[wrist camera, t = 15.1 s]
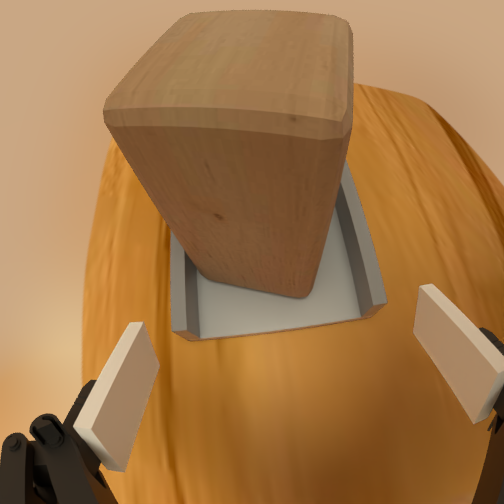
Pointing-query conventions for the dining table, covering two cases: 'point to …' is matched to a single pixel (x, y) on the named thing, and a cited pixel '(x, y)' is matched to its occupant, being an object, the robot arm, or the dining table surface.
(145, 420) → the dining table surface
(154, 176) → the wooden block
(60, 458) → the robot arm
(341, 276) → the end cap cradle
